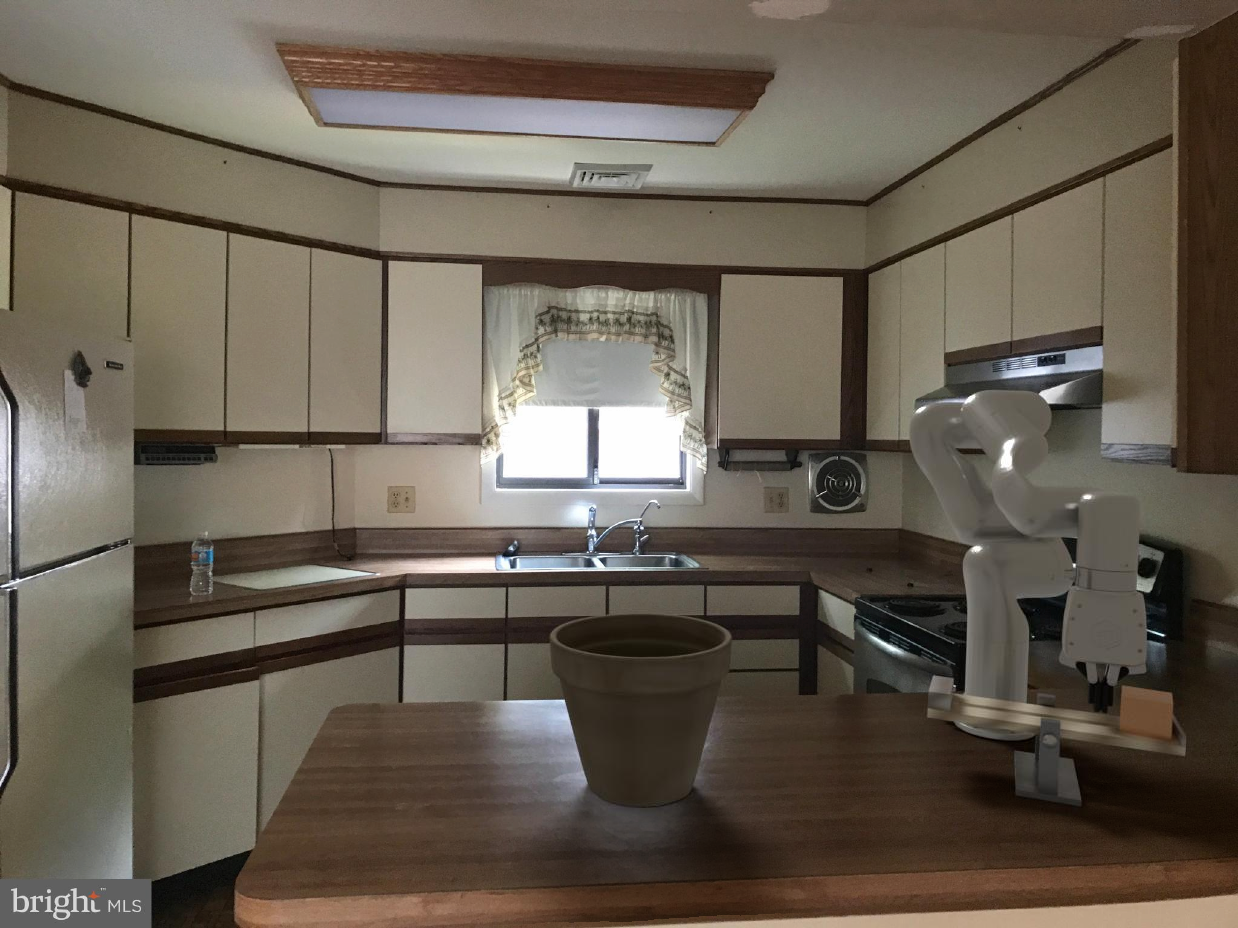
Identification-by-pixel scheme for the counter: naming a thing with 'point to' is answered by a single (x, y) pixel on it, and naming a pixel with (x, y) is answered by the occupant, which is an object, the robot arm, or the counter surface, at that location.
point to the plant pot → (640, 700)
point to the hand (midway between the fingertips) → (1099, 709)
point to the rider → (1146, 713)
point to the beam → (1029, 716)
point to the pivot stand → (1047, 765)
